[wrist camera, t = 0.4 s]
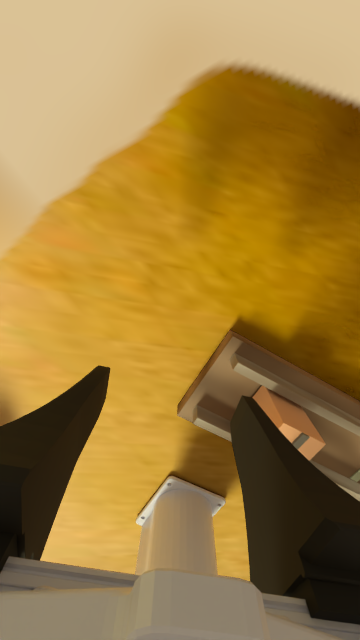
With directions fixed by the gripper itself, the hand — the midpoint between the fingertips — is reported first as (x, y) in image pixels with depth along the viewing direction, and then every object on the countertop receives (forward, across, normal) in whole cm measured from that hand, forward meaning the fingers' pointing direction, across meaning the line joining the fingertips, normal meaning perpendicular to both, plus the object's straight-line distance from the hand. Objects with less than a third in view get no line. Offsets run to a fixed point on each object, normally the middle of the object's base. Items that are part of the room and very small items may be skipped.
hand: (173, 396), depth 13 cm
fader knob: (+8, -10, +6) cm, 15 cm away
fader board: (+10, -17, +8) cm, 21 cm away
